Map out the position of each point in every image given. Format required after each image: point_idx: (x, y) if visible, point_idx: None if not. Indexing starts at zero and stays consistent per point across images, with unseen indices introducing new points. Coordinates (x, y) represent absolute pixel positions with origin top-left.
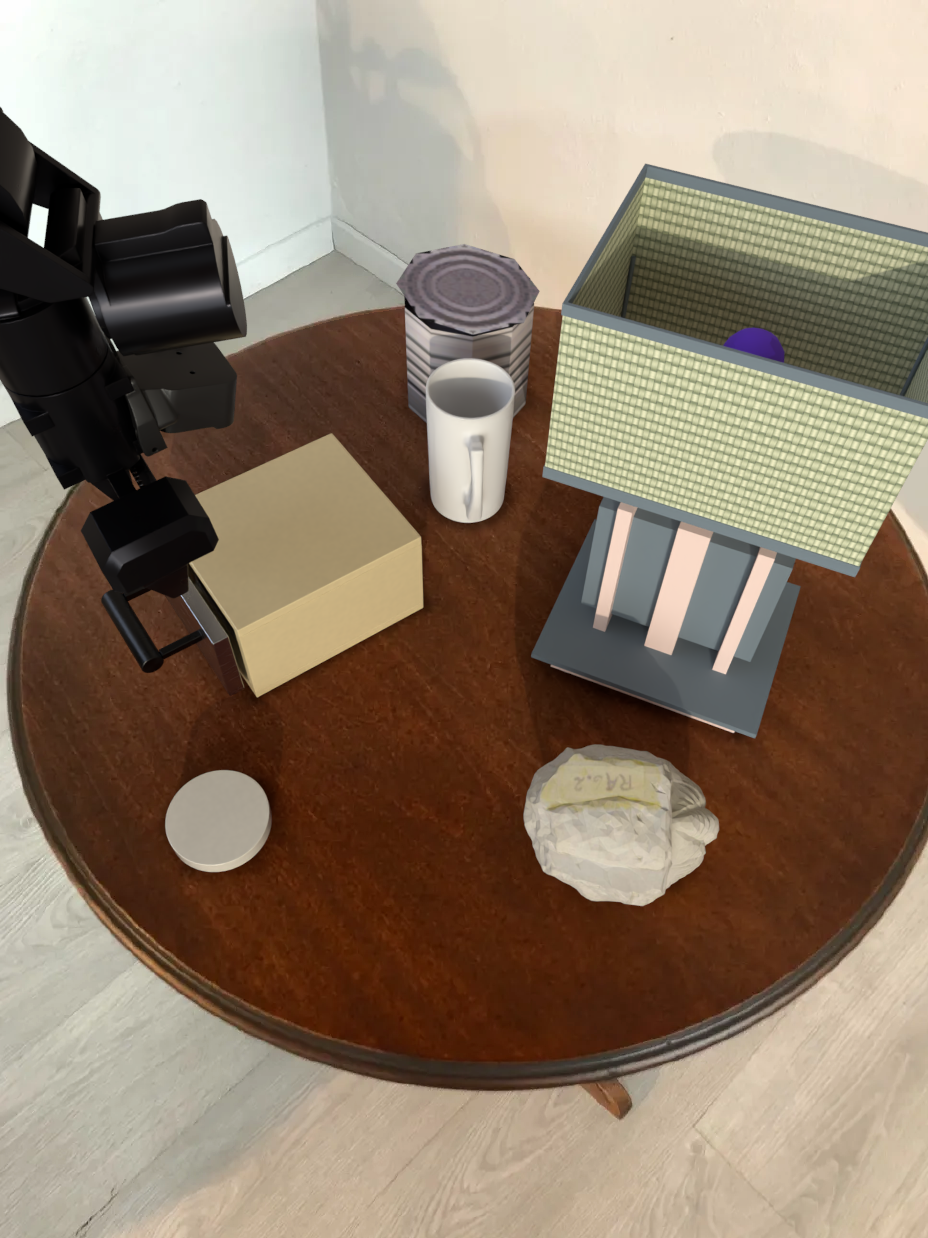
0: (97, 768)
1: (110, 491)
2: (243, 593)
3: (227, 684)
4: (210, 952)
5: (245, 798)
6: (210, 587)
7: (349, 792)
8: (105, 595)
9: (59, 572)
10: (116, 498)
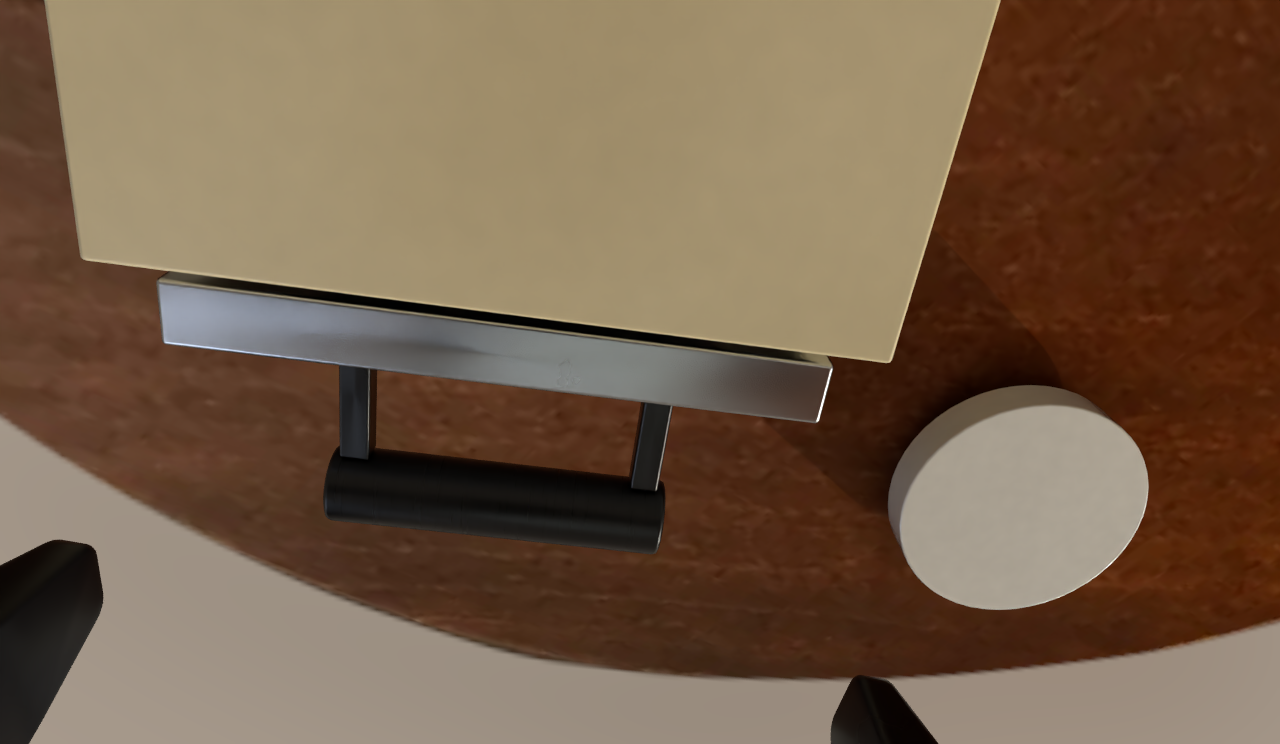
0: (671, 585)
1: (12, 736)
2: (760, 238)
3: None
4: (1161, 617)
5: (1047, 448)
6: (633, 324)
7: (1199, 212)
8: (334, 515)
9: (49, 391)
10: (60, 672)
